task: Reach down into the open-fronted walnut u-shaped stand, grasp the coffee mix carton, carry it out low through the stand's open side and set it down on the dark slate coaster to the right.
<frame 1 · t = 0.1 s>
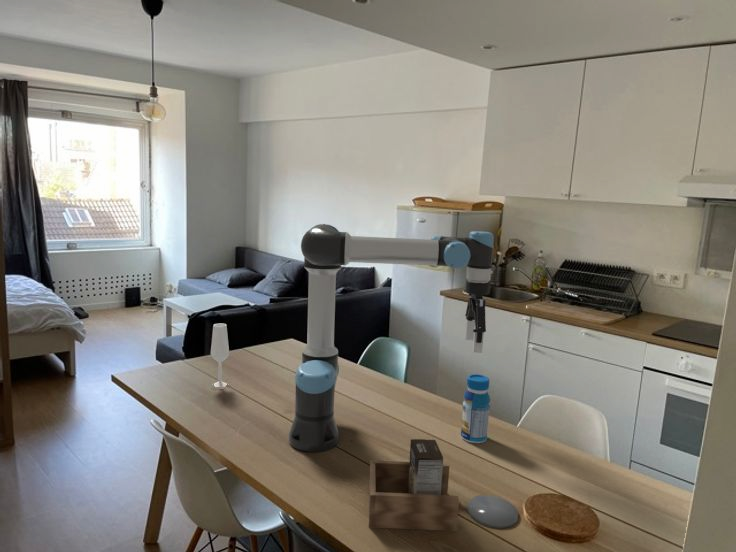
hand: (473, 345, 168), 28 cm above the table, fingers open, 13 cm apart
beverage bottle: (473, 438, 166), on the table
champagne flute: (220, 386, 199), on the table
slate coaster: (492, 512, 127), on the table
coffee box: (422, 510, 127), on the table
walnut u-shaped stand: (410, 508, 127), on the table
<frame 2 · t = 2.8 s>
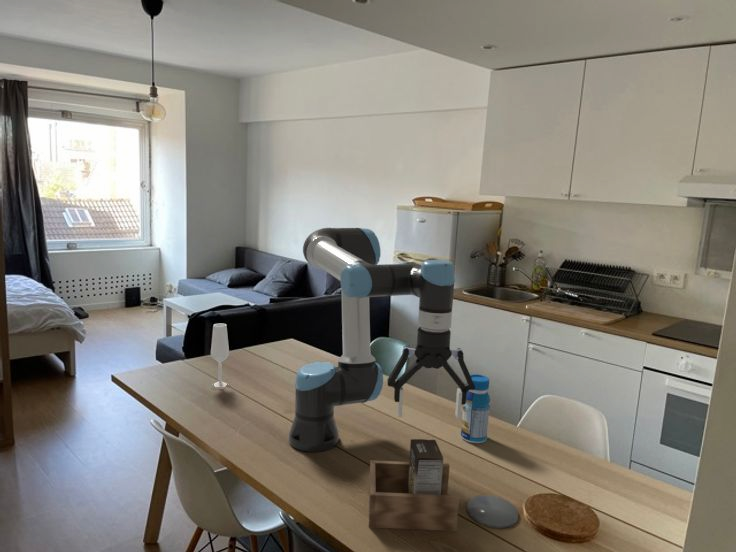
hand: (428, 415, 123), 24 cm above the table, fingers open, 13 cm apart
nothing on the table moved.
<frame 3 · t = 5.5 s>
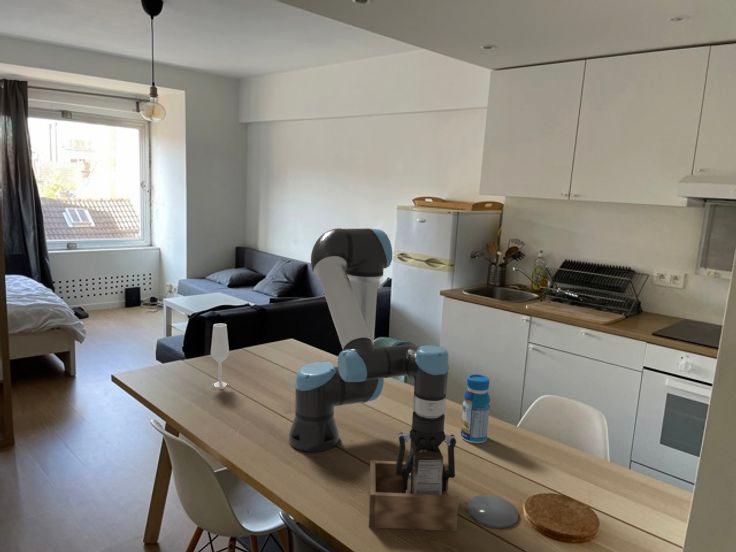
hand: (423, 501, 127), 2 cm above the table, fingers closed on coffee box, 7 cm apart
coffee box: (422, 510, 127), on the table, touching gripper
everything else where it was.
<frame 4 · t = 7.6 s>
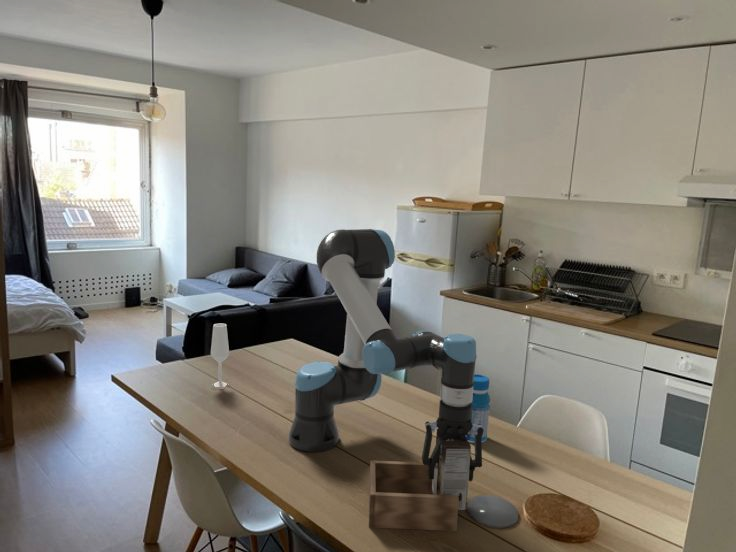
hand: (449, 491, 126), 5 cm above the table, fingers closed on coffee box, 7 cm apart
coffee box: (448, 499, 126), point 3 cm above the table, touching gripper
everything else where it was.
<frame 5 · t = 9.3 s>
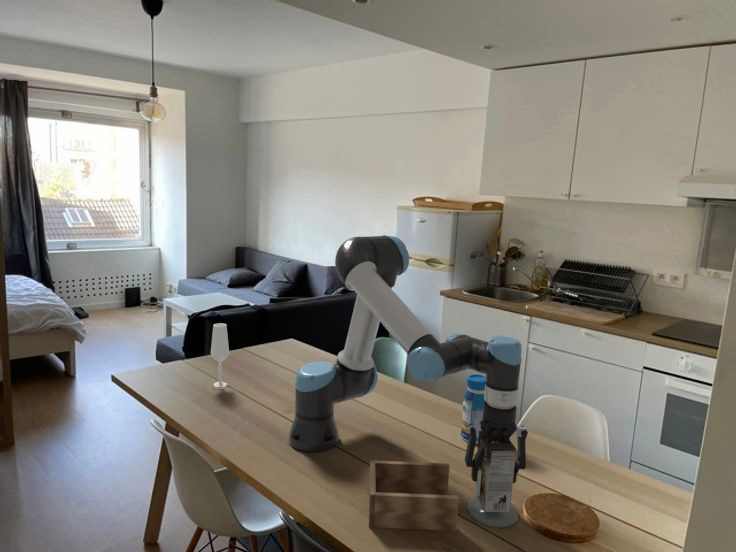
hand: (492, 493, 126), 5 cm above the table, fingers closed on coffee box, 7 cm apart
coffee box: (491, 501, 127), point 3 cm above the table, touching gripper
everything else where it was.
when the fingers open (4 cm above the table, at t = 10.2 s): coffee box drops 1 cm, resting on slate coaster.
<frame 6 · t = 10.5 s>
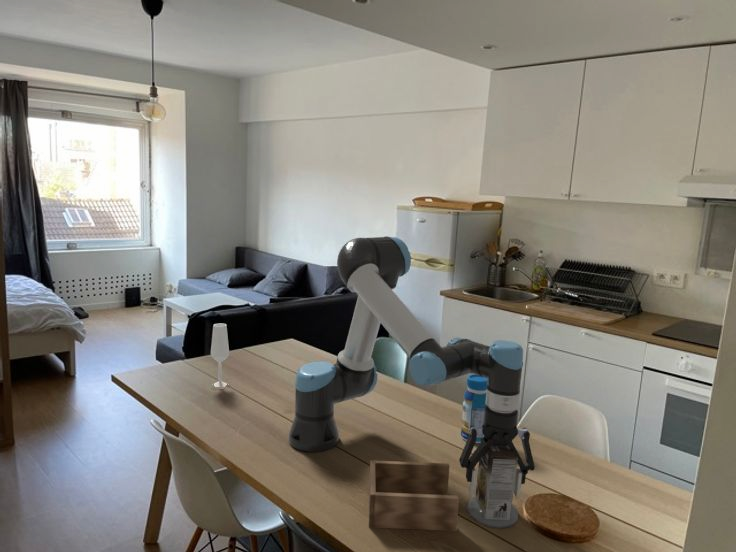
hand: (493, 494, 126), 5 cm above the table, fingers open, 10 cm apart
coffee box: (491, 509, 127), point 1 cm above the table, touching slate coaster
everything else where it was.
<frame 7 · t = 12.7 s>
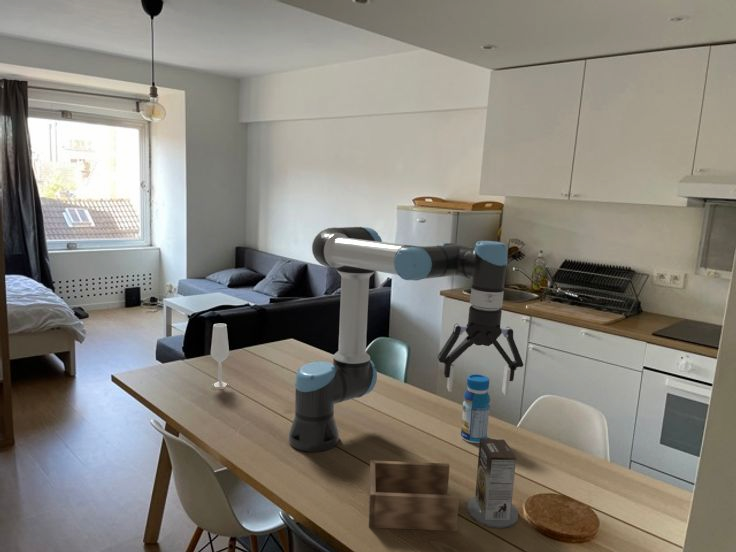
hand: (477, 391, 128), 29 cm above the table, fingers open, 13 cm apart
nothing on the table moved.
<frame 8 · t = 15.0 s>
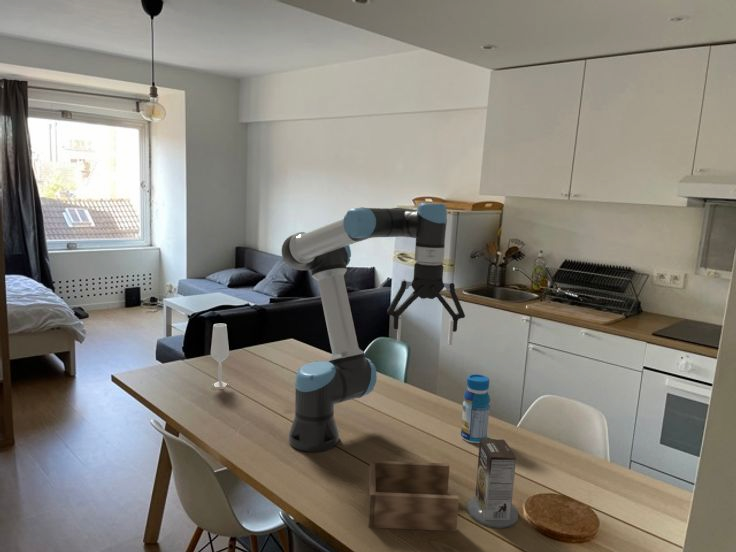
hand: (424, 342, 139), 37 cm above the table, fingers open, 13 cm apart
nothing on the table moved.
at the end: coffee box inside the target area on the slate coaster (0.2 cm from its centre), point 0.6 cm above the slate coaster's base; coffee box tilted 0°; the gripper is holding nothing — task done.
